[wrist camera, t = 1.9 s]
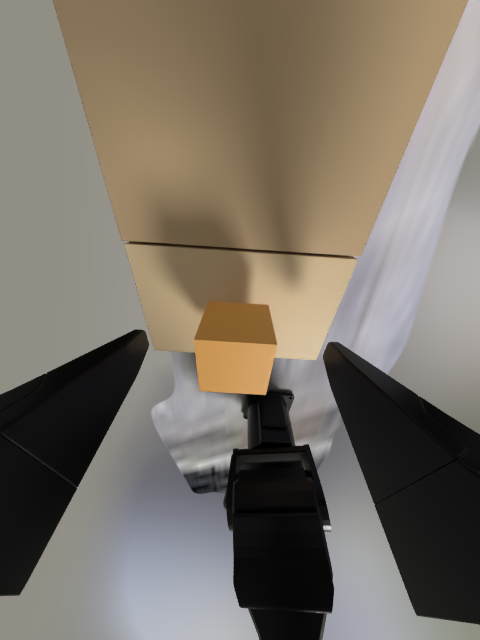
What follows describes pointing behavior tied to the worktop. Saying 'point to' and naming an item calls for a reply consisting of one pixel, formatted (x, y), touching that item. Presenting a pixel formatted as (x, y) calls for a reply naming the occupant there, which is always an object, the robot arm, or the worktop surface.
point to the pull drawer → (237, 307)
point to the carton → (254, 113)
